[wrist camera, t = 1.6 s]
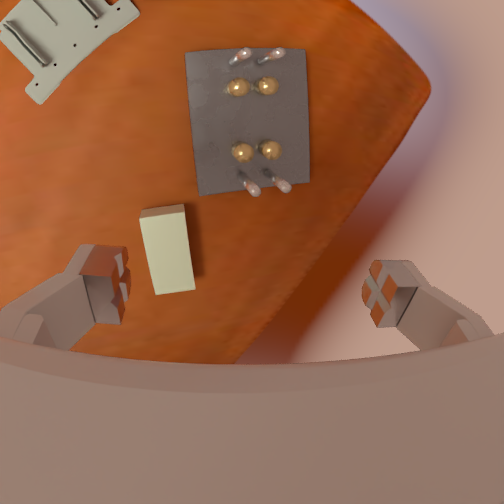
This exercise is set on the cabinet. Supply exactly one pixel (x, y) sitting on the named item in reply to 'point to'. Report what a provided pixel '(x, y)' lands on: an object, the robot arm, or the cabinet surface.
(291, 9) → the cabinet surface
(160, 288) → the board
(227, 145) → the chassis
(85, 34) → the metal bracket
